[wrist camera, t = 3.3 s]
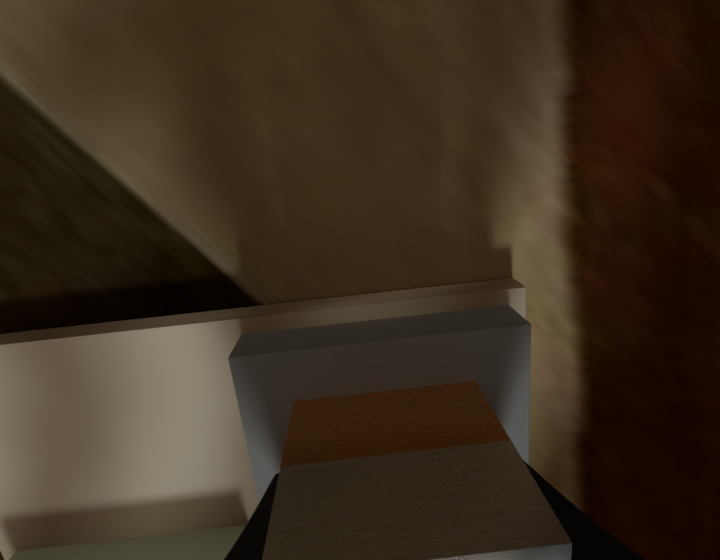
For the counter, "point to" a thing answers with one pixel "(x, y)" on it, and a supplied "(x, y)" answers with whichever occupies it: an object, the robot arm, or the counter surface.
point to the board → (154, 415)
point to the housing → (407, 482)
